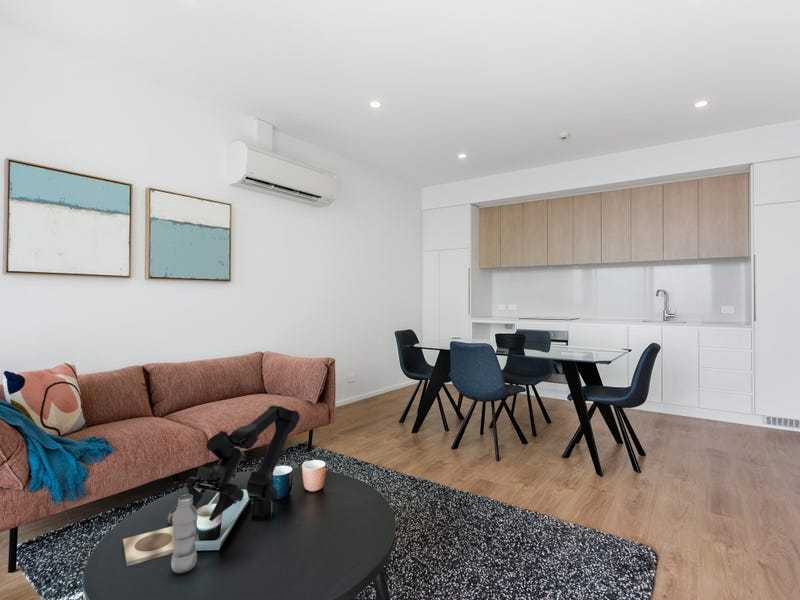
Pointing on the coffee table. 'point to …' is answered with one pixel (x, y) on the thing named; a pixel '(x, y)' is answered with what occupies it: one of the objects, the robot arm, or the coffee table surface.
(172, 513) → the wristwatch
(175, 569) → the plastic bottle
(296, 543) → the coffee table surface
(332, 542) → the coffee table surface
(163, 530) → the ash board
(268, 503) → the robot arm
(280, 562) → the coffee table surface
